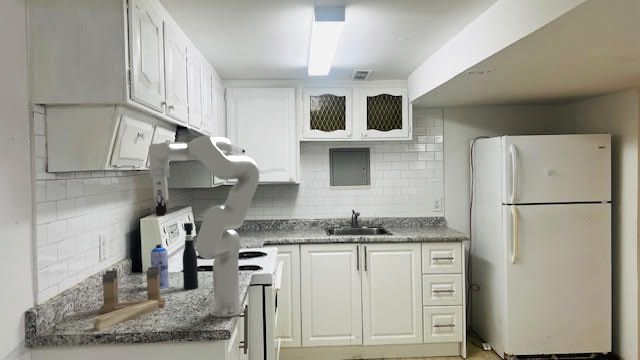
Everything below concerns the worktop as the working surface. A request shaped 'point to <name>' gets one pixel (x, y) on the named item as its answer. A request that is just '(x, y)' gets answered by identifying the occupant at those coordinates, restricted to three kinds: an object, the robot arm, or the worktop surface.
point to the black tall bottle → (189, 260)
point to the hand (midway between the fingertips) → (161, 214)
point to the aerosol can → (161, 264)
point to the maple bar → (125, 314)
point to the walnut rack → (112, 301)
